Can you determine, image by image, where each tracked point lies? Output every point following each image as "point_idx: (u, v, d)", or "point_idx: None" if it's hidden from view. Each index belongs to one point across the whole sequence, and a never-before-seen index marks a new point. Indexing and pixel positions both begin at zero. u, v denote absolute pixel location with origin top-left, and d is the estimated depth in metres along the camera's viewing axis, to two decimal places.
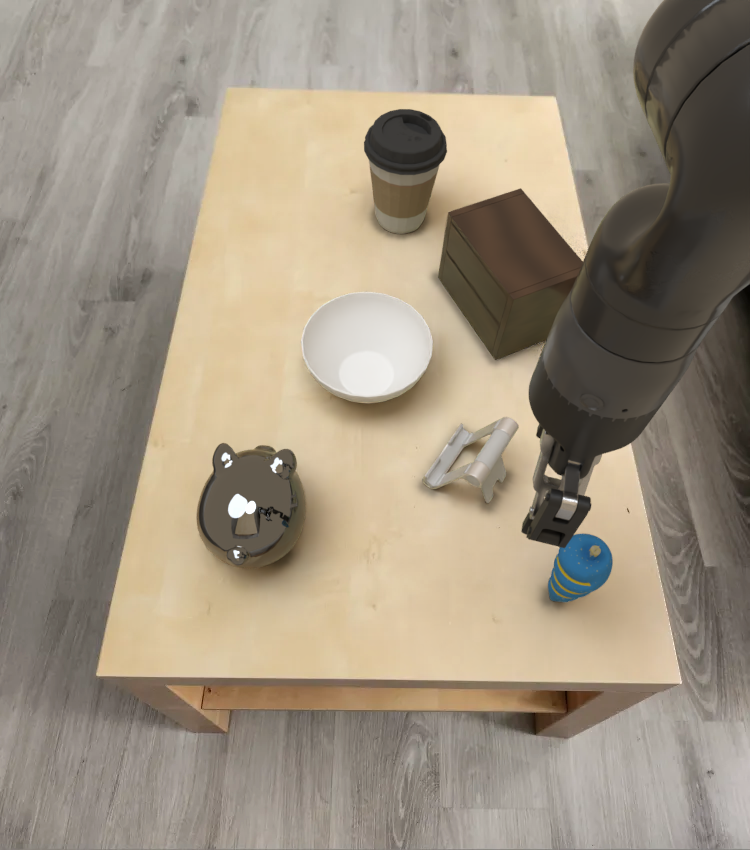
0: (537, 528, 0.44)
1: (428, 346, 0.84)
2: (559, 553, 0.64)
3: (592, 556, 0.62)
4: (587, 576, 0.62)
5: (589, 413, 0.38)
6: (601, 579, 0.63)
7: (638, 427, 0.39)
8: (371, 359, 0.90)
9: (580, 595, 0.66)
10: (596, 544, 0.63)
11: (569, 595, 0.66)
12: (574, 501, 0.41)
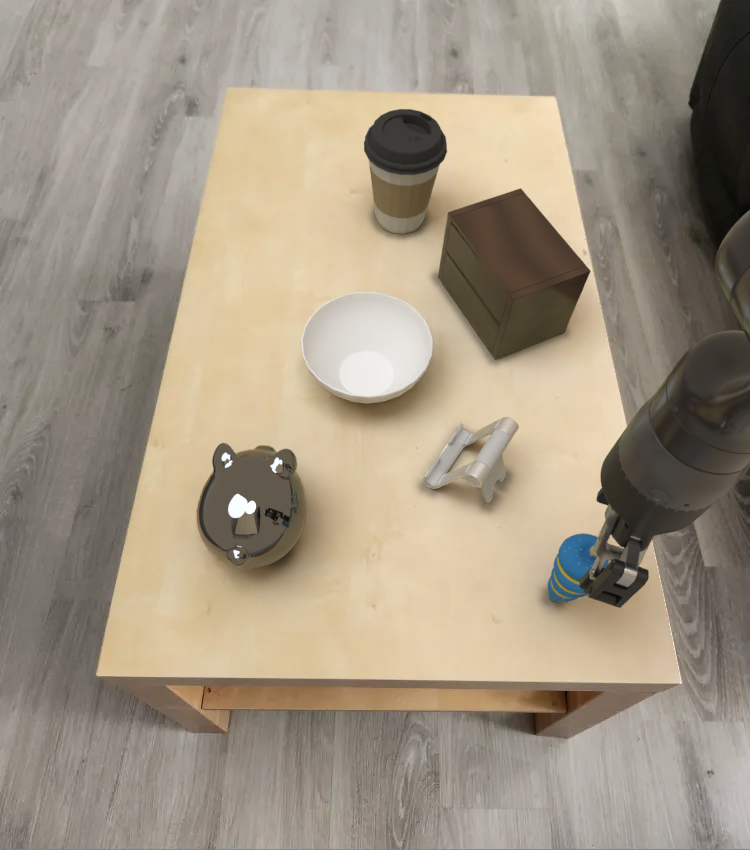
0: (598, 590, 0.51)
1: (428, 346, 0.84)
2: (559, 553, 0.64)
3: (592, 556, 0.62)
4: None
5: (655, 503, 0.45)
6: None
7: (695, 516, 0.46)
8: (371, 359, 0.90)
9: (580, 595, 0.66)
10: None
11: (569, 595, 0.66)
12: (634, 572, 0.48)
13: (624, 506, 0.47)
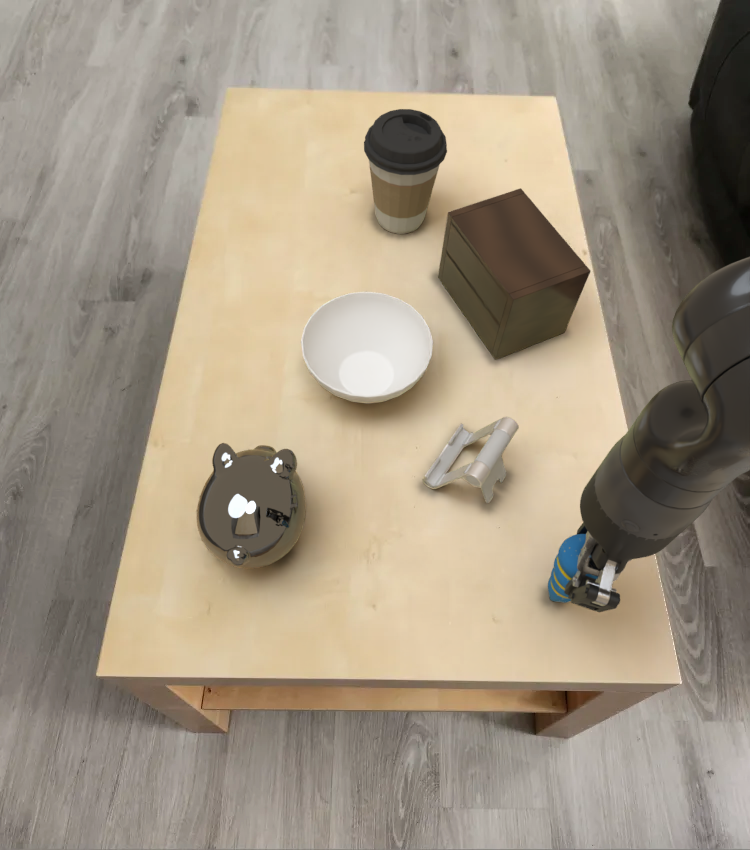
0: (577, 601, 0.57)
1: (428, 346, 0.84)
2: (559, 553, 0.64)
3: None
4: None
5: (628, 532, 0.49)
6: None
7: (665, 543, 0.51)
8: (371, 359, 0.90)
9: None
10: None
11: None
12: (606, 598, 0.53)
13: (600, 533, 0.52)
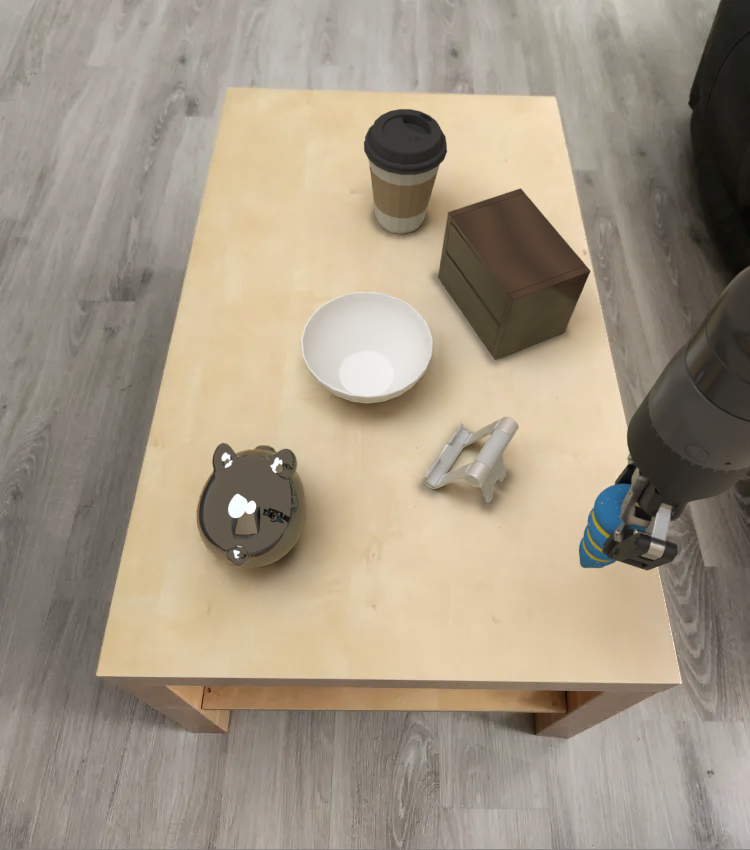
0: (622, 557, 0.47)
1: (428, 346, 0.84)
2: (595, 506, 0.54)
3: None
4: None
5: (691, 463, 0.40)
6: None
7: (736, 478, 0.41)
8: (371, 359, 0.90)
9: None
10: None
11: (606, 556, 0.57)
12: (661, 549, 0.44)
13: (655, 468, 0.42)
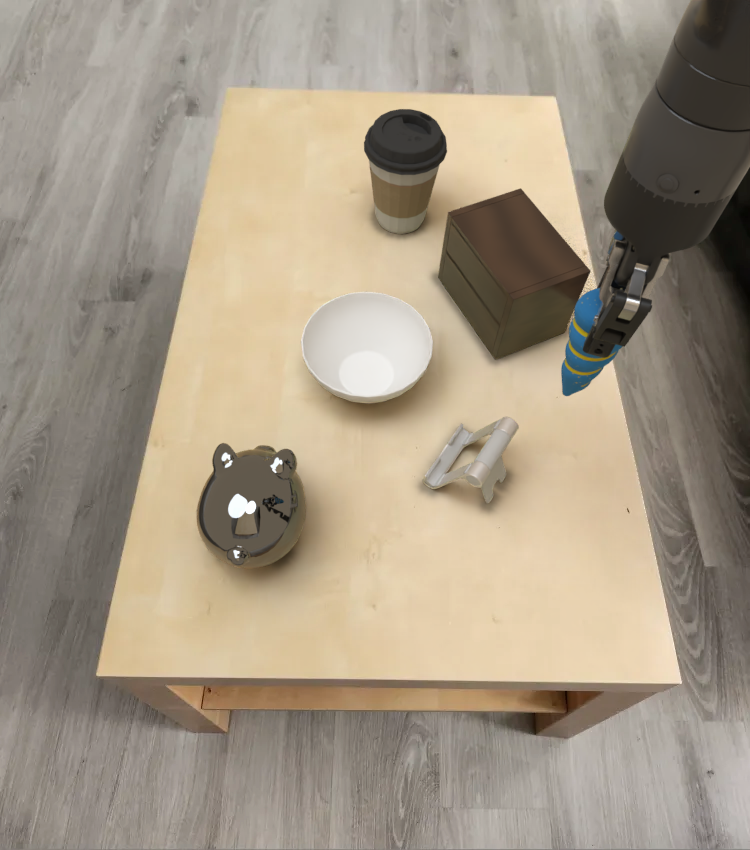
0: (601, 327, 0.50)
1: (428, 346, 0.84)
2: (576, 308, 0.57)
3: None
4: None
5: (663, 198, 0.42)
6: None
7: (706, 220, 0.44)
8: (371, 359, 0.90)
9: (599, 362, 0.59)
10: None
11: (586, 363, 0.59)
12: (636, 303, 0.46)
13: (630, 219, 0.45)
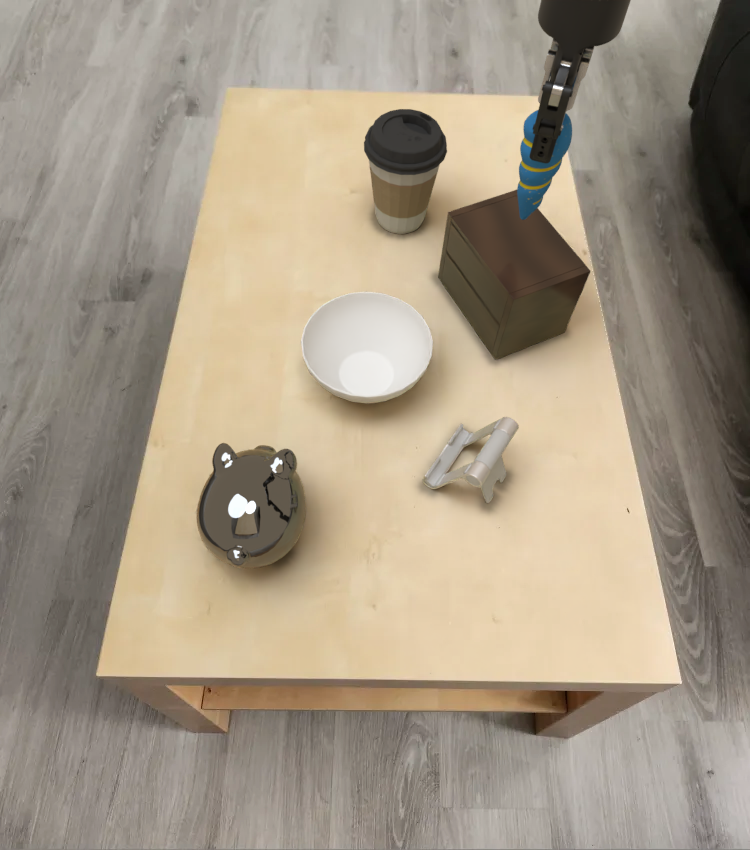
0: (537, 119, 0.64)
1: (428, 346, 0.84)
2: (524, 124, 0.71)
3: None
4: None
5: None
6: (561, 139, 0.70)
7: (610, 15, 0.58)
8: (371, 359, 0.90)
9: (544, 173, 0.73)
10: None
11: (534, 174, 0.73)
12: (561, 88, 0.60)
13: (554, 19, 0.59)
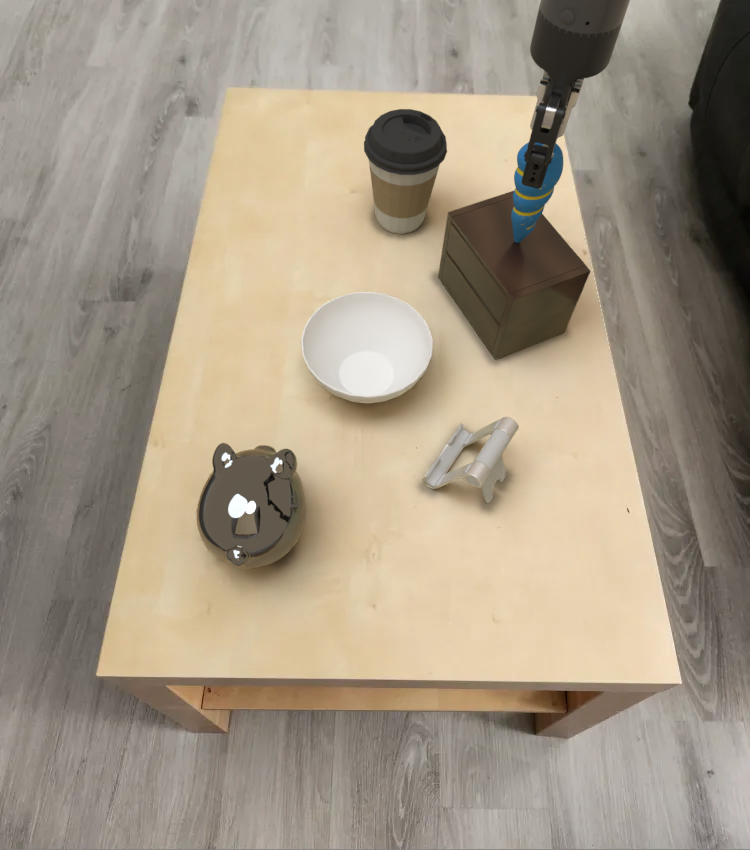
0: (530, 143, 0.65)
1: (428, 346, 0.84)
2: None
3: None
4: None
5: (565, 30, 0.59)
6: (553, 170, 0.73)
7: (598, 50, 0.60)
8: (371, 359, 0.90)
9: (537, 201, 0.76)
10: None
11: (527, 202, 0.77)
12: (554, 108, 0.62)
13: (545, 52, 0.62)
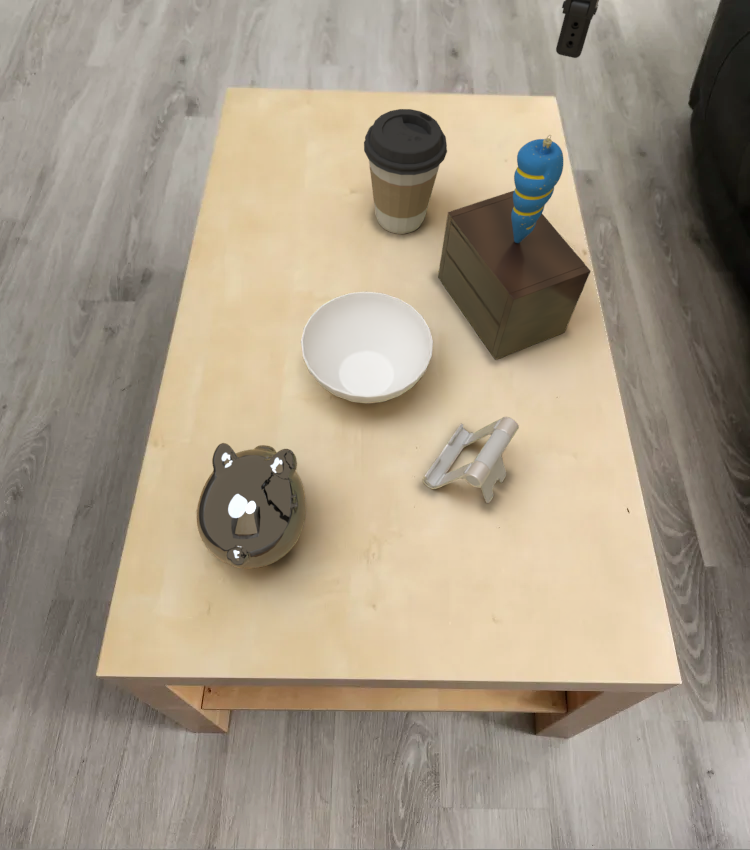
0: None
1: (428, 346, 0.84)
2: None
3: (545, 148, 0.73)
4: (540, 164, 0.72)
5: None
6: (553, 170, 0.73)
7: None
8: (371, 359, 0.90)
9: (537, 201, 0.76)
10: None
11: (527, 202, 0.77)
12: None
13: None
